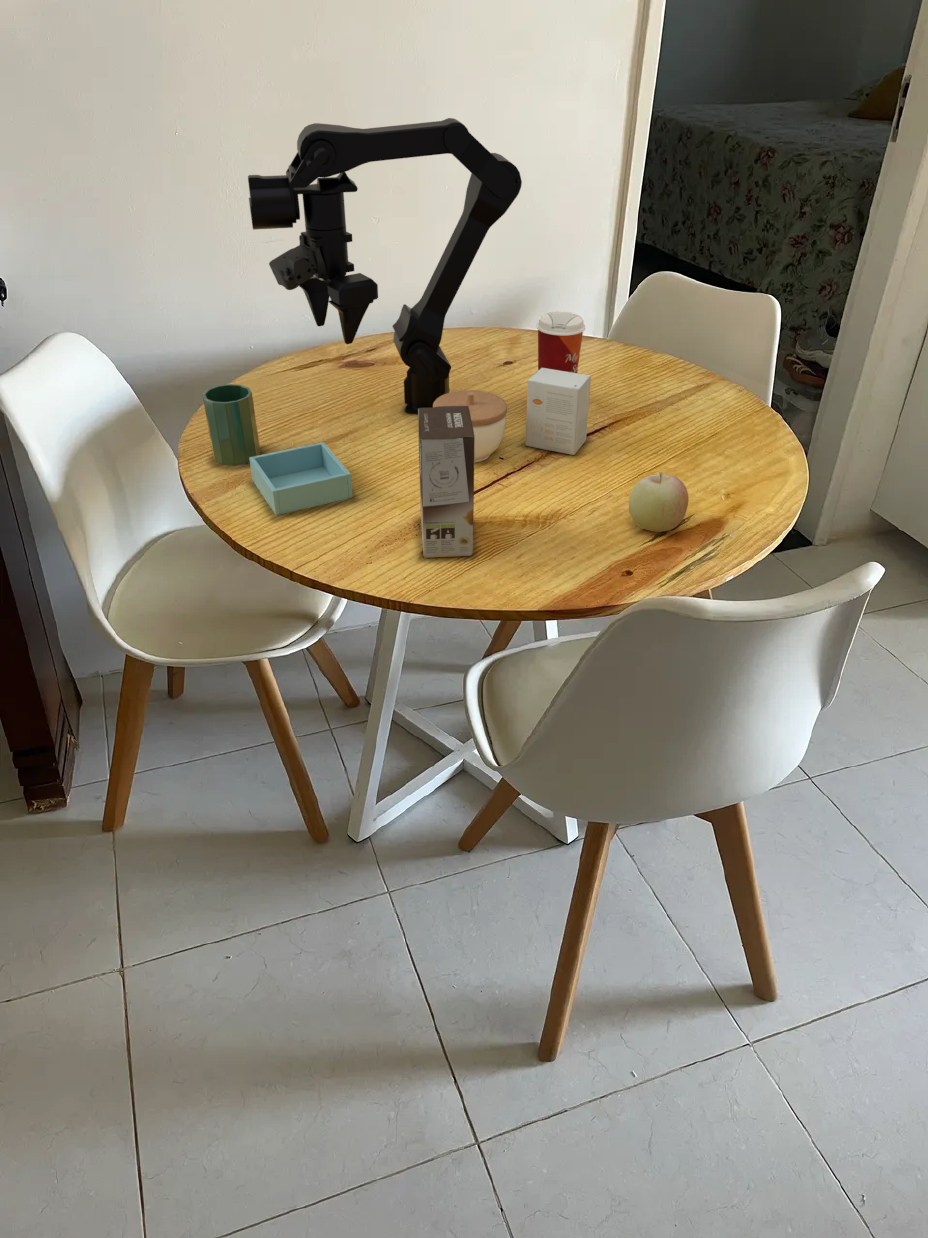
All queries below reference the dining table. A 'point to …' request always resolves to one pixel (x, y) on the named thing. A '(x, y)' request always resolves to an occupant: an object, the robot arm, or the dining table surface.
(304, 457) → the bin
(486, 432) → the trinket box
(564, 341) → the paper cup
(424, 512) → the coffee box
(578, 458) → the dining table surface
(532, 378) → the small box
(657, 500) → the fruit
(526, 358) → the dining table surface
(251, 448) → the cup
